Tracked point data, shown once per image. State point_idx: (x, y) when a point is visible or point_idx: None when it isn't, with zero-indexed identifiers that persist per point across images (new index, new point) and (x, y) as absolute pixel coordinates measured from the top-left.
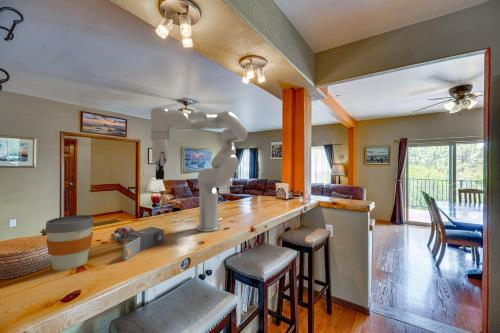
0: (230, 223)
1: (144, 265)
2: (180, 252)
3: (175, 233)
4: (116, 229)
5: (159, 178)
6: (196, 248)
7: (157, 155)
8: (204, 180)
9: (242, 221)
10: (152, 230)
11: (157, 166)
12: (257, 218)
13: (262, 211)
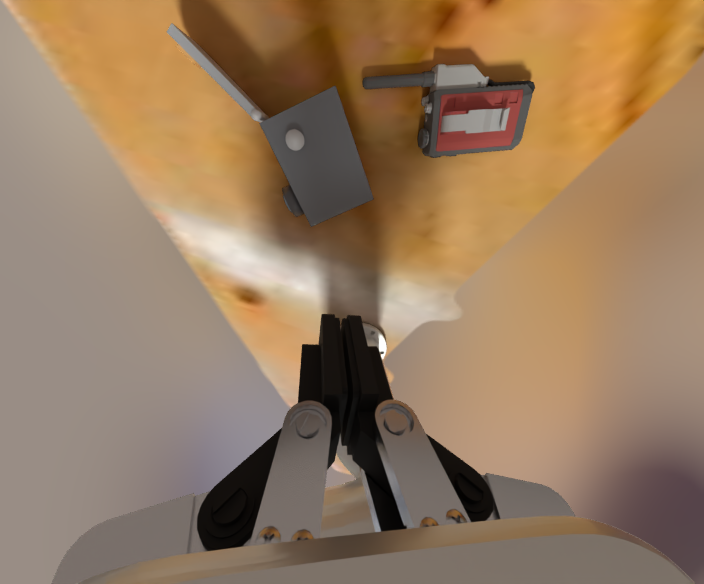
0: None
1: (126, 100)
2: (196, 227)
3: (369, 267)
4: (523, 86)
5: (319, 342)
6: (209, 271)
7: None
8: (353, 506)
9: None
10: (318, 188)
11: (268, 469)
12: None
13: None
